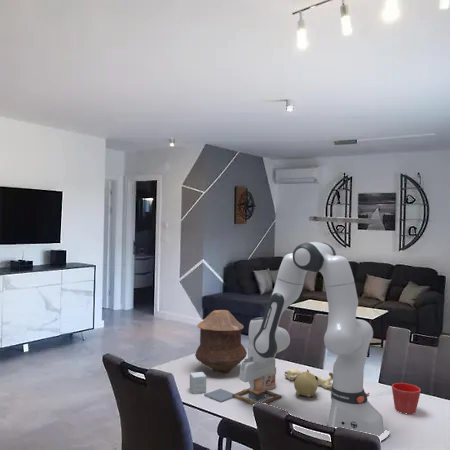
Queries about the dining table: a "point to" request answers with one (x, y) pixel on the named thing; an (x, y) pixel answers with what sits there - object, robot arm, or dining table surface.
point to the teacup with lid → (270, 380)
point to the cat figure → (323, 382)
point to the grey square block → (256, 395)
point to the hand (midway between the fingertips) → (257, 387)
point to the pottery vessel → (220, 342)
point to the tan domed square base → (258, 386)
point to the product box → (197, 382)
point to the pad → (219, 395)
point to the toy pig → (306, 384)
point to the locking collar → (247, 400)
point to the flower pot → (405, 397)
